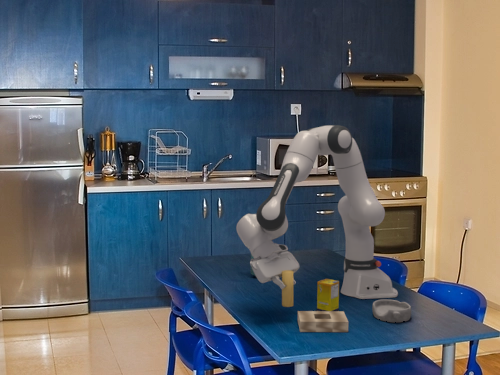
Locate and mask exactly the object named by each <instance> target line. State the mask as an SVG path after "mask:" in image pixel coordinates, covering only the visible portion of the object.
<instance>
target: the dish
mask: <svg viewBox="0 0 500 375" xmlns="http://www.w3.org/2000/svg"><path fill="white" fill-rule="evenodd" d="M371 308H372V314H373V317H374V318H376V319H377V320H379V319H380V321H382V322H386V321H387V323H395V322H396V323H404V322H403V321H405V322H407V321H410V319H411V316H412V306H411V305H410V304H409V303H408V302H406V301H399V300H397V299H395V300H394V299H387V298H381V299H378V300H375V301H373V302H372V307H371Z"/></svg>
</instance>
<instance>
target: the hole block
mask: <svg viewBox="0 0 500 375" xmlns="http://www.w3.org/2000/svg"><path fill="white" fill-rule="evenodd" d="M297 324H298V327H299V329H298V330H299V332H300V333H349V319H348V318H347V316H346V314H345V311H344V310H343V311H339V310H337V311H317V310H314V311H313V310H300V311H299V310H297Z"/></svg>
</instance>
